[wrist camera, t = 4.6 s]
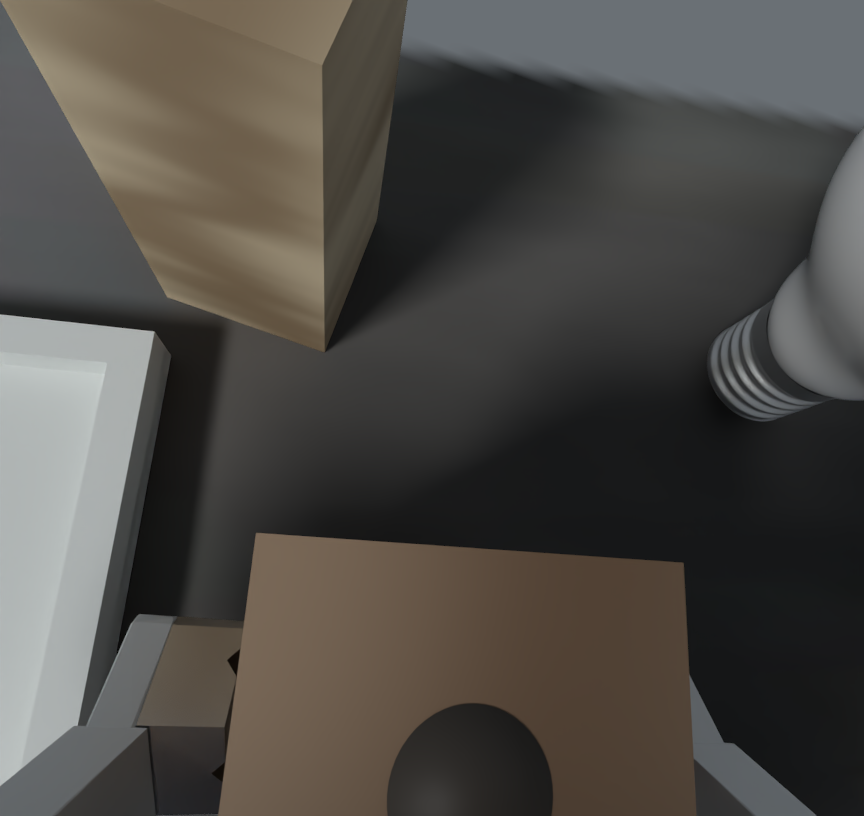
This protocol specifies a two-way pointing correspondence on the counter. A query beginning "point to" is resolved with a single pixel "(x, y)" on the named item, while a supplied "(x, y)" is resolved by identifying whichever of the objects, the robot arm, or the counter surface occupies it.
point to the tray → (68, 515)
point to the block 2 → (459, 684)
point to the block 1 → (233, 140)
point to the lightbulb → (805, 318)
